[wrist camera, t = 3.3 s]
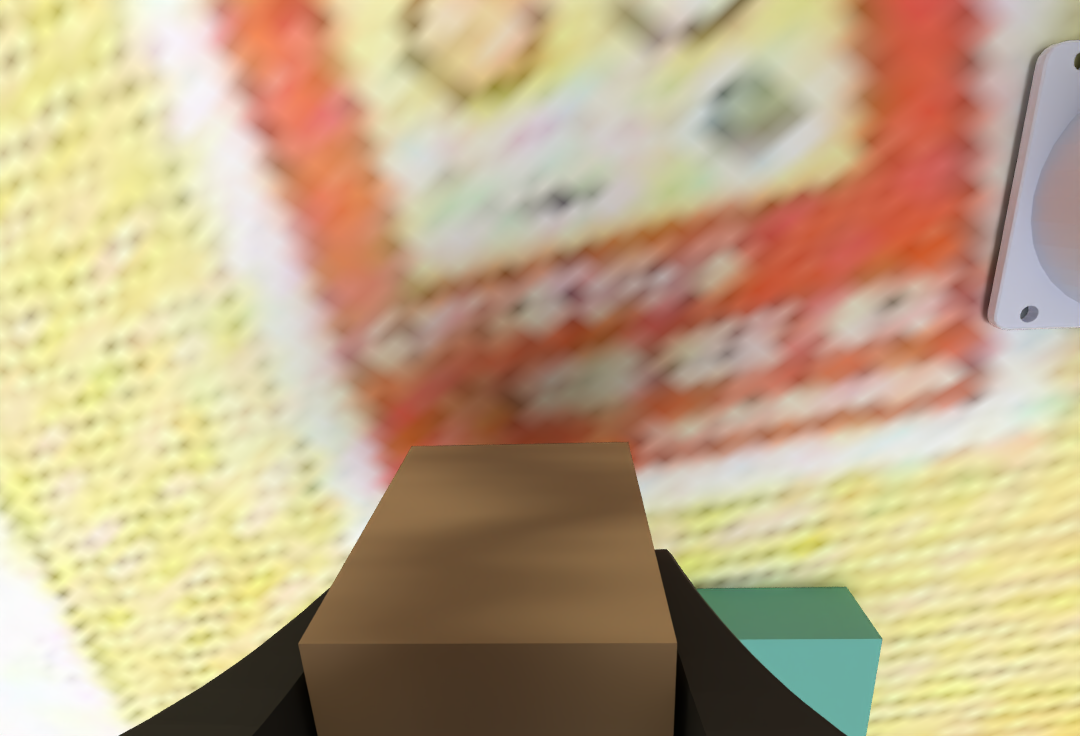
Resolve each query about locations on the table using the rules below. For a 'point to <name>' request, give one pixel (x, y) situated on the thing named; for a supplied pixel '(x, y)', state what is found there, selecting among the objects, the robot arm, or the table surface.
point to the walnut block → (498, 602)
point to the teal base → (808, 645)
